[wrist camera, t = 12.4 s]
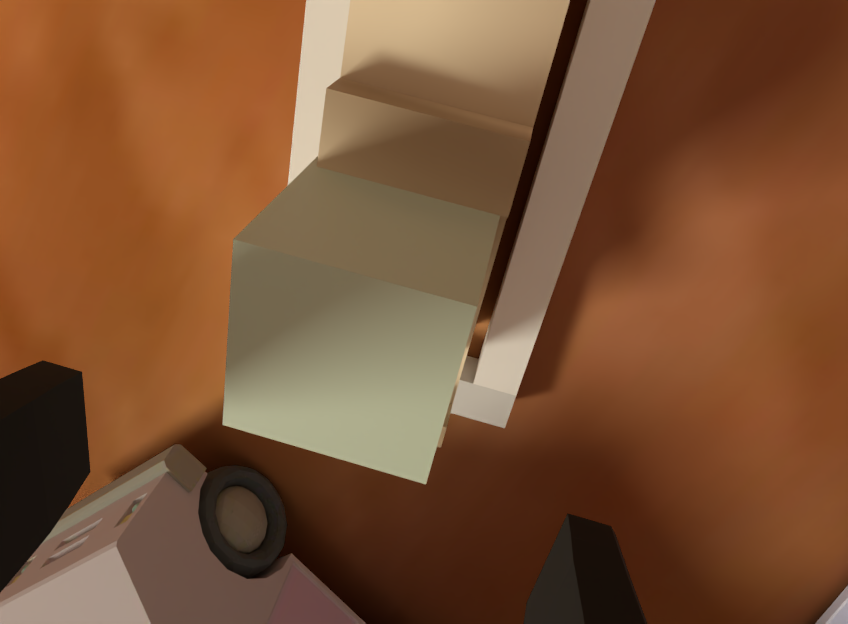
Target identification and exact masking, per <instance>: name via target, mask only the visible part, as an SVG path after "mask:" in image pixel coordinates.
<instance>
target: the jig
mask: <svg viewBox="0 0 848 624" xmlns="http://www.w3.org/2000/svg"><path fill="white" fill-rule="evenodd" d="M655 1H656V0H588V1H587V4H586V7H585V10H584V14H583V17H582V20H581V24H580V27H579V30H578V33H577V37H576V40H575V43H574V47H573V50H572V53H571V56H570V60H569V63H568V66H567V70H566V73H565V76H564V80H563V83H562V86H561V89H560V93H559V96H558V99H557V103H556V106H555V109H554V112H553V116H552V119H551V122H550V126H549V129H548V132H547V135H546V139H545V142H544V145H543V149H542V152H541V155H540V159H539V162H538V165H537V168H536V172H535V175H534V178H533V182H532V185H531V188H530V191H529V195H528V198H527V201H526V205H525V208H524V211H523V214H522V218H521V221H520V224H519V228H518V231H517V234H516V238H515V241H514V244H513V247H512V251H511V254H510V257H509V261H508V264H507V267H506V270H505V274H504V277H503V280H502V284H501V287H500V290H499V293H498V297H497V300H496V303H495V307H494V310H493V313H492V317H491V320H490V323H489V326H488V330H487V333H486V336H485V340H484V343H483V346H482V349H481V353H480V356H479V359H477V358H473V357H470V356H466V360H465V363H464V367H463V370H462V374H461V377H460V381H459V384H458V387H457V391H456V394H455V398H454V401H453V405H452V409H451V413H452V414H456V415H460V416H463V417H467V418H470V419H474V420H477V421H481V422H484V423H488V424H491V425H495V426H498V427H502V428H505V426H506V423H507V420H508V417H509V415H510V412H511V409H512V406H513V403H514V401H515V398H516V395H517V392H518V389H519V386H520V384H521V381H522V378H523V375H524V372H525V369H526V367H527V364H528V361H529V358H530V355H531V352H532V350H533V347H534V344H535V341H536V338H537V335H538V333H539V330H540V327H541V324H542V321H543V318H544V316H545V313H546V310H547V307H548V304H549V301H550V299H551V296H552V293H553V290H554V287H555V284H556V282H557V279H558V276H559V273H560V270H561V267H562V265H563V262H564V259H565V256H566V253H567V250H568V248H569V245H570V242H571V239H572V236H573V233H574V231H575V228H576V225H577V222H578V219H579V216H580V214H581V211H582V208H583V205H584V202H585V200H586V197H587V194H588V191H589V188H590V185H591V183H592V180H593V177H594V174H595V171H596V168H597V166H598V163H599V160H600V157H601V154H602V151H603V149H604V146H605V143H606V140H607V137H608V134H609V132H610V129H611V126H612V123H613V120H614V117H615V115H616V112H617V109H618V106H619V103H620V100H621V98H622V95H623V92H624V89H625V86H626V83H627V81H628V78H629V75H630V72H631V69H632V66H633V64H634V61H635V58H636V55H637V52H638V49H639V47H640V44H641V41H642V38H643V35H644V32H645V30H646V27H647V24H648V21H649V18H650V16H651V13H652V10H653V7H654V4H655ZM349 7H350V0H306V9H305V19H304V29H303V39H302V49H301V59H300V69H299V79H298V89H297V99H296V109H295V119H294V129H293V139H292V149H291V159H290V169H289V179H288V185H289V184H290V183H291V182H292V181H293V180H294V179H295V178H296V177H297V176H298V175H299V174H300V173H301V172H302V171H303V170H304V169H305V168H306V167H307V166H308V165H309V164H310V163H311V162H312V161H313V160H314V159H315V158H316V157H317V156H318V152H319V144H320V136H321V128H322V119H323V111H324V103H325V95H326V88H327V87H329V86H330V85H331V84H332V83H334V82H335V81H336V80H338V79H339V78H340V76H341V68H342V60H343V53H344V45H345V38H346V30H347V22H348V15H349Z"/></svg>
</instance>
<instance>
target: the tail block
mask: <svg viewBox="0 0 848 624" xmlns="http://www.w3.org/2000/svg"><path fill="white" fill-rule="evenodd" d="M317 161H318V156H317V157H316V158H315V159H314V160H313V161H312V162H311V163H310V164H309V165H308V166H307V167H306V168H305V169H304V170H303V171H302V172H301V173H300V174H299V175H298V176H297V177H296V178H295V179H294V180H293V181H292V182H291V183H290V184H289V185H288V186H287V187H286V188H285V189H284V190H283V191H282V192H281V193H280V194H279V195H278V196H277V197H276V198H275V199H274V200H273V201H272V202H271V203H270V204H269V205H268V206H267V207H266V208H265V209H264V210H263V211H261V212H260V213H259V214H258V215H257V216H256V217H255V218H254V219H253V220H252V221H251V222H250V223H249V224H248V225H247V226H246V227H245V228H244V229H243V230H242V231H241V232H240V233H239V234H238V235H237V236H236V237H235V238H234V239H233V255H232V272H231V289H230V306H229V323H228V339H227V356H226V373H225V390H224V407H223V424H222V425H225V426H228V427H232V428H235V429H238V430H242V431H245V432H249V433H252V434H255V435H259V436H262V437H266V438H269V439H272V440H276V441H279V442H283V443H286V444H290V445H293V446H296V447H300V448H303V449H307V450H310V451H313V452H317V453H320V454H324V455H327V456H330V457H334V458H337V459H341V460H344V461H348V462H351V463H354V464H358V465H361V466H365V467H368V468H371V469H375V470H378V471H382V472H385V473H388V474H392V475H395V476H399V477H402V478H405V479H409V480H412V481H416V482H419V483H423V484H426V482H427V479H428V475H429V472H430V469H431V465H432V462H433V458H434V455H435V451H436V448H437V444H438V441H439V437H440V434H441V431H442V427H443V424H444V420H445V417H446V413H447V410H448V406H449V403H450V399H451V396H452V393H453V389H454V386H455V382H456V379H457V375H458V372H459V368H460V365H461V361H462V358H463V355H464V351H465V348H466V344H467V341H468V337H469V334H470V330H471V327H472V323H473V320H474V316H475V313H476V310H477V306H478V302H479V298H480V294H481V290H482V286H483V282H484V278H485V274H486V270H487V266H488V262H489V258H490V254H491V250H492V246H493V242H494V238H495V234H496V230H497V226H498V222H499V219H500V215H496V214H492V213H488V212H485V211H481V210H477V209H473V208H470V207H466V206H462V205H458V204H455V203H451V202H447V201H443V200H440V199H436V198H432V197H429V196H425V195H421V194H417V193H414V192H410V191H406V190H402V189H399V188H395V187H391V186H388V185H384V184H380V183H376V182H373V181H369V180H365V179H362V178H358V177H354V176H350V175H347V174H343V173H339V172H335V171H332V170H328V169H324V168H321V167H317Z"/></svg>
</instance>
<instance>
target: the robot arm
mask: <svg viewBox="0 0 848 624" xmlns="http://www.w3.org/2000/svg"><path fill="white" fill-rule="evenodd" d="M89 473H90V462H89V450H88V438H87V426H86V415H85V403H84V391H83V379H82V372H81V371H77V370H74V369H70V368H67V367H63V366H60V365H57V364H53V363H50V362H46V361H40V362H38V363H36V364H33V365H31V366H28V367H26V368H24V369H21V370H19V371H17V372H15V373H12V374H10V375H8V376H6V377H3V378H1V379H0V593H1V591H2V590H3V589H4V588H5V587H6V586H7V584H8V583H9V582H10V581H11V580H12V578H13V577H14V576H15V575H16V574H17V572H18V571H19V570H20V569H21V568H22V566H23V565H24V564H25V563H26V562H27V560H28V559H29V558H30V557H31V556H32V554H33V553H34V552H35V551H36V550H37V549H38V547H39V546H40V545H41V544H42V542H43V541H44V540H45V539H46V537H47V536H48V535H49V534H50V533H51V531H52V530H53V528H54V527H55V525H56V524H57V522H58V521H59V519H60V518H61V516H62V515H63V513H64V512H65V510H66V509H67V508H68V506H69V505H70V503H71V501H72V500H73V498H74V497H75V495H76V493H77V492H78V490H79V489H80V487H81V486H82V484H83V482H84V481H85V479H86V478H87V476H88V475H89ZM524 624H647V621H646V619H645V616H644V613H643V611H642V608H641V605H640V603H639V600H638V597H637V595H636V592H635V589H634V586H633V584H632V581H631V578H630V575H629V572H628V570H627V567H626V564H625V561H624V558H623V555H622V552H621V549H620V546H619V543H618V540H617V537H616V534H615V532H614V531H613V529H612V527H611V526H609V525H605V524H602V523H598V522H595V521H591V520H588V519H585V518H581V517H578V516H574V515H571V514H567V516H566V518H565V520H564V523H563V525H562V527H561V529H560V531H559V534H558V536H557V538H556V540H555V542H554V544H553V547H552V549H551V551H550V553H549V555H548V557H547V560H546V562H545V564H544V566H543V568H542V570H541V573H540V575H539V577H538V579H537V581H536V584H535V586H534V588H533V590H532V592H531V594H530V597H529V599H528V601H527V604H526V611H525V618H524ZM815 624H848V586H847V587H846V588H845V589H844V590H843V592H842V593H841V594H840V595H839V596H838V597H837V599H836V600H835V601H834V602H833V603H832V604H831V606H830V607H829V608H828V609H827V610H826V611H825V613H824V614H823V615H822V616H821V617H820V618H819V620H818V621H817V622H816V623H815Z"/></svg>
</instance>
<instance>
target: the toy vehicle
mask: <svg viewBox="0 0 848 624" xmlns="http://www.w3.org/2000/svg"><path fill="white" fill-rule="evenodd" d="M206 469H207V468H206V467H205V466H204V465H203V464H202V463H201V462H199V461H198V460H197V459H196V458H195V457H194V456H193V455H192V454H191V453H190V452H189V451H188V450H186V449H185V448H184V447H183V446H182V445H181V444H175V445H173V446H171V447H170V448H168V449H166V450H165V451H163V452H161V453H160V454H158V455H156V456H155V457H153V458H151V459H150V460H148V461H146V462H145V463H143V464H141V465H140V466H138V467H136V468H135V469H133V470H131V471H130V472H128V473H126V474H125V475H123V476H121V477H120V478H118V479H116V480H115V481H113V482H111V483H110V484H108V485H106V486H105V487H103V488H101V489H100V490H98V491H96V492H95V493H93V494H91V495H90V496H88V497H86V498H85V499H83V500H81V501H80V502H78V503H76V504H75V505H73V506H71V507H70V508H68V509H66V510H65V512H64V513H63V515H62V516H61V518H60V519H59V521H58V522H57V524H56V525H55V527H54V528H53V530H52V531H51V533H50V534H49V535H48V536H47V537H46V539H45V540H44V541H43V542H42V544H41V545H40V546H39V547H38V549H37V550H36V551H35V552H34V553H33V554H32V556H31V557H30V558H29V559H28V560H27V562H26V563H25V564H24V565H23V566H22V568H21V569H20V570H19V571H18V572H17V574H16V575H15V576H14V577H13V578H12V580H11V581H10V582H9V583H8V584H7V586H6V587H5V588H4V589H3V590H2V591H1V593H0V624H366V623H365V622H364V621H363V620H362V619H361V618H360V617H359V616H357V615H356V614H355V613H354V612H353V611H352V610H351V609H350V608H349V607H348V606H347V605H346V604H345V603H344V602H343V601H342V600H341V599H339V598H338V597H337V596H336V595H335V594H334V593H333V592H332V591H331V590H330V589H329V588H328V587H327V586H326V585H325V584H324V583H322V582H321V581H320V580H319V579H318V578H317V577H316V576H315V575H314V574H313V573H312V572H311V571H310V570H309V569H308V568H307V567H306V566H304V565H303V564H302V563H301V562H300V561H299V560H298V559H297V558H296V557H295V556H294V555H293V554H292V553H291V554H288V555H286V556H283V557H281V558H278V559H276V558H277V557H278V555H279V553H280V552H281V550H282V548H283V546H284V542H285V536H286V529H287V521H286V515H285V509H284V505H283V503H282V500H281V498H280V496H279V494H278V492H277V490H276V489H275V488H274V486H273V485H272V484H271V482H270V481H269V480H268V479H267V478H266V477H264V476H263V475H261V474H260V473H259V472H257V471H256V470H254V469H251V468H247V467H243V466H237V465H231V466H223V467H220V468H217V469H215V470H213V471H211V472H208V473H206V472H205V470H206ZM275 559H276V560H275Z"/></svg>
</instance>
